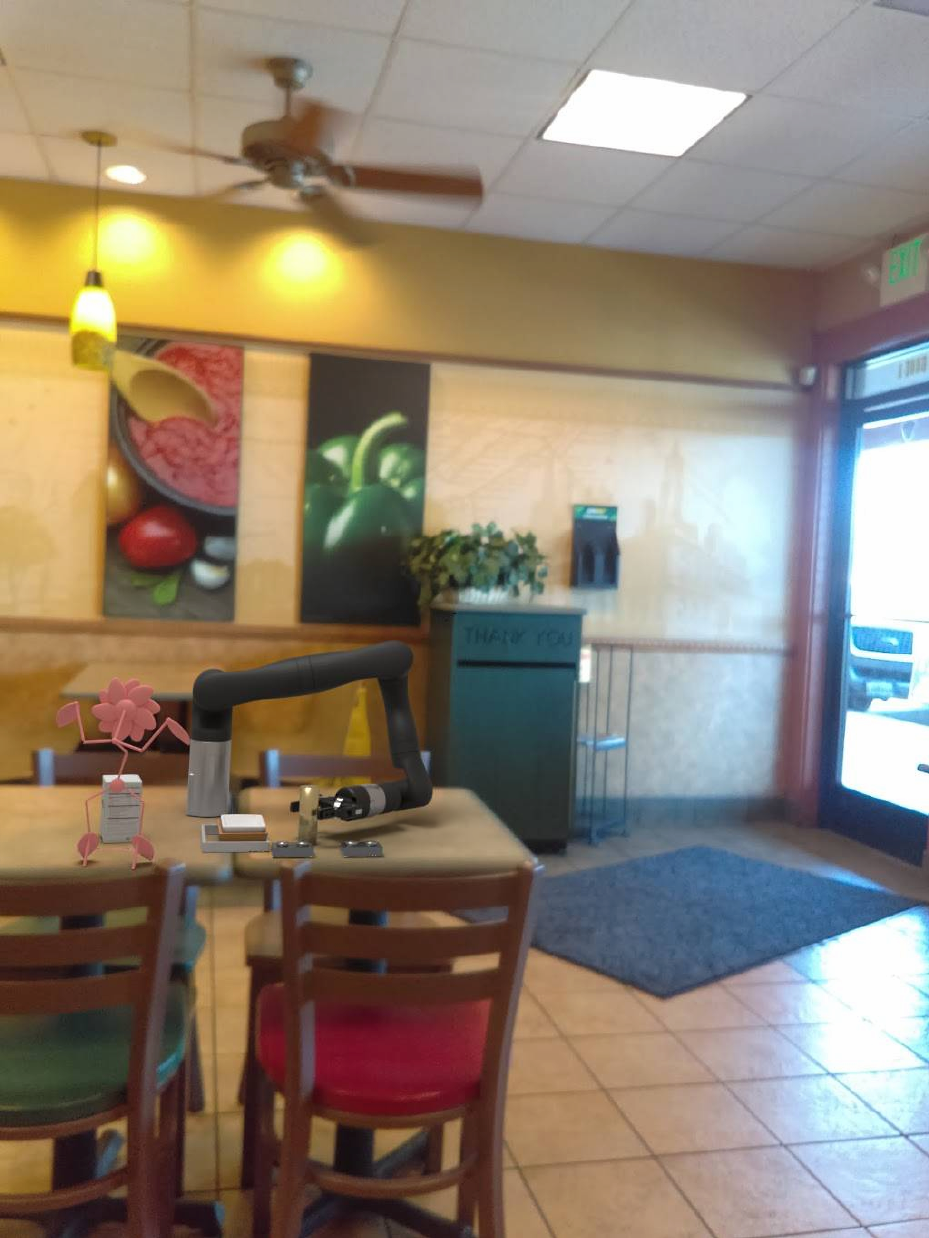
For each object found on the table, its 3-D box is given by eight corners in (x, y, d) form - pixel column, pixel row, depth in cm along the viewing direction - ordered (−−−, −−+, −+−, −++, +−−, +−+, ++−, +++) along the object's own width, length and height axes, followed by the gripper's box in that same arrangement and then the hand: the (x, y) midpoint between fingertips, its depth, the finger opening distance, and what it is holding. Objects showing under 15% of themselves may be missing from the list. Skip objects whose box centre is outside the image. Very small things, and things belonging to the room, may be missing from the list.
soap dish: (267, 851, 217) (268, 826, 217) (218, 851, 214) (219, 826, 214) (263, 836, 229) (264, 812, 229) (216, 836, 226) (217, 812, 226)
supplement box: (99, 834, 221) (102, 774, 221) (136, 833, 224) (139, 773, 223) (102, 843, 214) (105, 781, 214) (140, 842, 217) (143, 780, 217)
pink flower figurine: (177, 873, 196) (187, 684, 196) (37, 866, 196) (46, 676, 196) (197, 853, 212) (206, 678, 211) (67, 847, 211) (75, 671, 211)
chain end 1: (272, 857, 211) (273, 844, 211) (271, 852, 215) (271, 839, 215) (313, 857, 213) (313, 844, 213) (310, 851, 217) (311, 839, 217)
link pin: (298, 845, 222) (301, 788, 221) (296, 841, 225) (299, 784, 225) (317, 845, 223) (320, 788, 222) (315, 840, 226) (318, 785, 226)
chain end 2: (342, 857, 215) (343, 844, 215) (339, 851, 219) (340, 838, 219) (382, 856, 217) (382, 844, 217) (378, 851, 221) (378, 838, 221)
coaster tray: (202, 852, 212) (202, 842, 212) (201, 833, 227) (201, 824, 227) (269, 851, 215) (269, 842, 215) (263, 833, 230) (264, 824, 230)
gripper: (339, 779, 240) (283, 787, 227) (384, 790, 230) (328, 799, 218) (337, 812, 240) (281, 822, 228) (382, 824, 231) (326, 835, 218)
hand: (304, 811), depth 223 cm, fingers open, 8 cm apart
